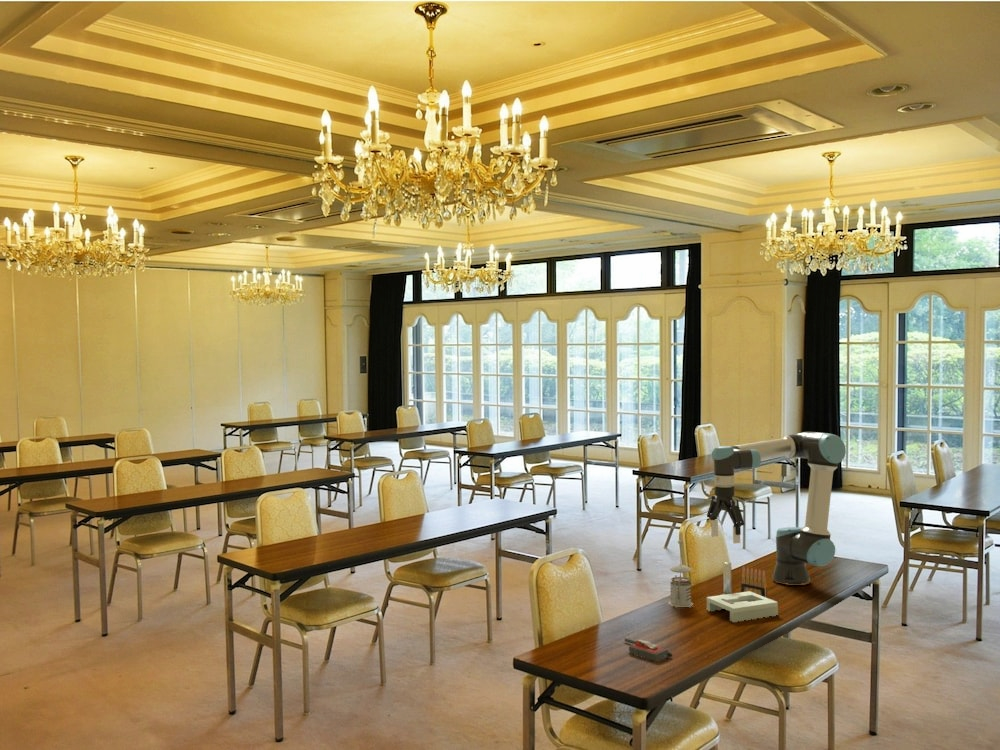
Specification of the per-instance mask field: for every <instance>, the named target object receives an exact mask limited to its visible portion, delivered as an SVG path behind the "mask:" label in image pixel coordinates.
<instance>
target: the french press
mask: <svg viewBox="0 0 1000 750" xmlns="http://www.w3.org/2000/svg"><path fill="white" fill-rule="evenodd" d="M683 543H684V541H682V540H680V539H679V540H678V541H677V544H679V564H674V565H672V566H670V568H669V570H670V572H673V573H678V574H679V573H680V575H679V576H678V575H677V574H676V575H675V576H674V577H672V578H670V579H671V581H670V585H669V586H670V587H669V588H670V591H669V592H670V601H669V602H667V603H668V604H670V605H671V606H670V605H669V606H670V607H672V606H675V607H674V608H677V607H689V608H692V607H693V606H692V605H693V604H694V603H693V602H692V599H691V598H692V596H691V595H692V589H691V588H692V583H691V582H690V581H691V579H690V578H688V577H684V576H683V577H682V573H683V574H685V573H689V572H691V570H692V568H690V567H689V566H687V565H684V564H682V562H681V561H682V558H681V556H682V555H681V554H682V552H681V551H682V550H681V549H682V548H681V547H682V546H681V545H682V544H683ZM668 604H667V605H668ZM691 606H692V607H691Z"/></svg>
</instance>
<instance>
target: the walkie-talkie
mask: <svg viewBox="0 0 1000 750" xmlns="http://www.w3.org/2000/svg"><path fill="white" fill-rule="evenodd" d="M624 642H626V643H630V645H629V647H628V651H629V652H630V653H632V654H635V655H638V656H637V657H639V656H642V657H644V658H643V659H645V658H647V659H646V660H649V659H650V660H649V661H651V660H653V662H655V661H657V662H656V663H660V662H661V661H663V660H664V661H665V660H666V658H667V659H668V658H672V657H673V653H671V652H669V650H668V649H666V648H662V647H660V646H658V644H654V643H652V642H650V641H648V640H644V639H642V638H641V639H638V640H633V639H630V638H624ZM630 653H629V654H630ZM632 654H631V655H632ZM635 655H634V656H635ZM642 657H641V658H642ZM659 661H660V662H659Z"/></svg>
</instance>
